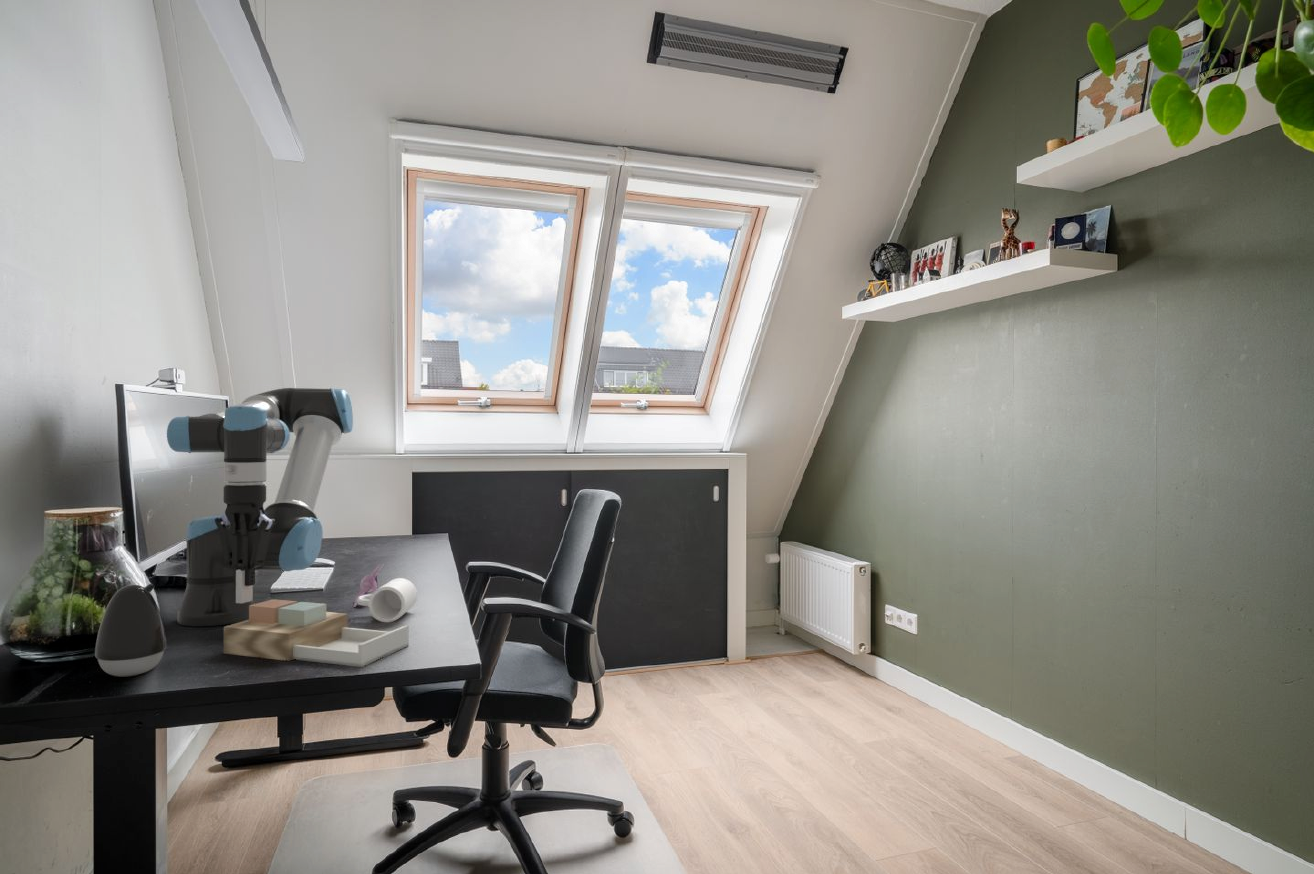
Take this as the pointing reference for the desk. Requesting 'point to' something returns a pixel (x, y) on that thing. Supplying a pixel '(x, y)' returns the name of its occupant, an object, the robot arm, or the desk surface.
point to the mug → (390, 600)
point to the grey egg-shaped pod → (130, 633)
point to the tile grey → (302, 614)
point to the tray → (355, 647)
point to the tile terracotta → (267, 610)
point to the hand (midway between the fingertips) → (244, 601)
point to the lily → (368, 583)
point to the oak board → (281, 637)
